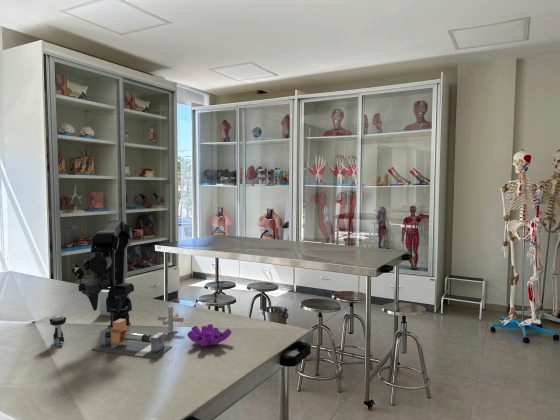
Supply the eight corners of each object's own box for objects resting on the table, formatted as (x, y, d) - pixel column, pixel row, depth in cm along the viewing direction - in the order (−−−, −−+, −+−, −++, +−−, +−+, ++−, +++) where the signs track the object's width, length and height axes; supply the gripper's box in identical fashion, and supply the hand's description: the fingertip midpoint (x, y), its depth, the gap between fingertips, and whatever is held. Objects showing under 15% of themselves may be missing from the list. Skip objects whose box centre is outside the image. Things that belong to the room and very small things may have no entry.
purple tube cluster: (219, 360, 146) (206, 343, 141) (189, 349, 155) (177, 333, 150) (237, 333, 152) (225, 316, 147) (208, 325, 161) (196, 308, 156)
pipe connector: (177, 337, 158) (177, 310, 157) (152, 335, 160) (152, 309, 159) (188, 328, 168) (188, 303, 167) (164, 326, 170) (164, 302, 169)
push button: (70, 345, 149) (69, 317, 149) (53, 349, 146) (52, 320, 145) (64, 340, 154) (63, 313, 153) (48, 343, 150) (47, 316, 150)
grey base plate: (91, 350, 145) (91, 348, 145) (110, 339, 155) (110, 338, 155) (156, 358, 138) (156, 357, 138) (171, 347, 148) (171, 346, 148)
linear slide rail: (100, 346, 147) (100, 331, 147) (109, 341, 152) (109, 326, 152) (156, 354, 141) (156, 338, 141) (164, 348, 146) (164, 333, 146)
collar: (111, 344, 146) (110, 322, 145) (120, 339, 151) (120, 318, 150) (118, 345, 145) (118, 323, 144) (127, 340, 150) (127, 318, 149)
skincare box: (114, 315, 183) (113, 291, 182) (99, 315, 183) (98, 291, 182) (123, 308, 193) (123, 286, 193) (109, 308, 194) (109, 285, 193)
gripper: (66, 270, 142) (67, 316, 143) (115, 273, 138) (115, 320, 139) (88, 264, 153) (89, 307, 154) (134, 267, 149) (135, 311, 150)
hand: (106, 311), depth 149 cm, fingers open, 9 cm apart
